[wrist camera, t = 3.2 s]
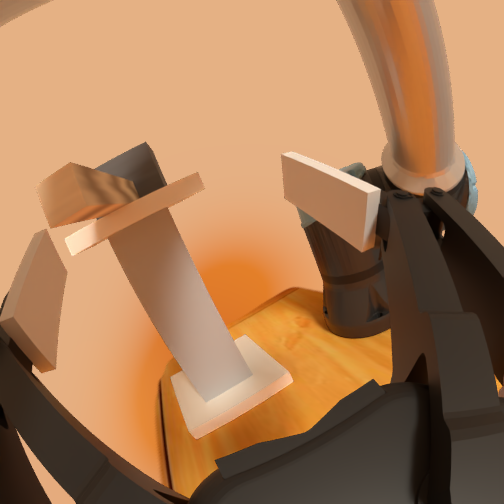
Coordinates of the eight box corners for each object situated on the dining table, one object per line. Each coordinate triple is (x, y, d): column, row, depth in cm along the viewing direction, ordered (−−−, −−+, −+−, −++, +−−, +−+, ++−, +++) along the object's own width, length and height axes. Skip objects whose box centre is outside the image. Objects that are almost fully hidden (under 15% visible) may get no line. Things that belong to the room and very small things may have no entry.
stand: (175, 384, 47) (87, 234, 39) (249, 342, 52) (176, 190, 44) (196, 439, 32) (64, 238, 25) (293, 381, 37) (197, 172, 30)
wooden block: (113, 221, 40) (96, 180, 38) (170, 191, 41) (152, 150, 39) (16, 252, 14) (-13, 162, 12) (136, 178, 15) (101, 82, 13)
